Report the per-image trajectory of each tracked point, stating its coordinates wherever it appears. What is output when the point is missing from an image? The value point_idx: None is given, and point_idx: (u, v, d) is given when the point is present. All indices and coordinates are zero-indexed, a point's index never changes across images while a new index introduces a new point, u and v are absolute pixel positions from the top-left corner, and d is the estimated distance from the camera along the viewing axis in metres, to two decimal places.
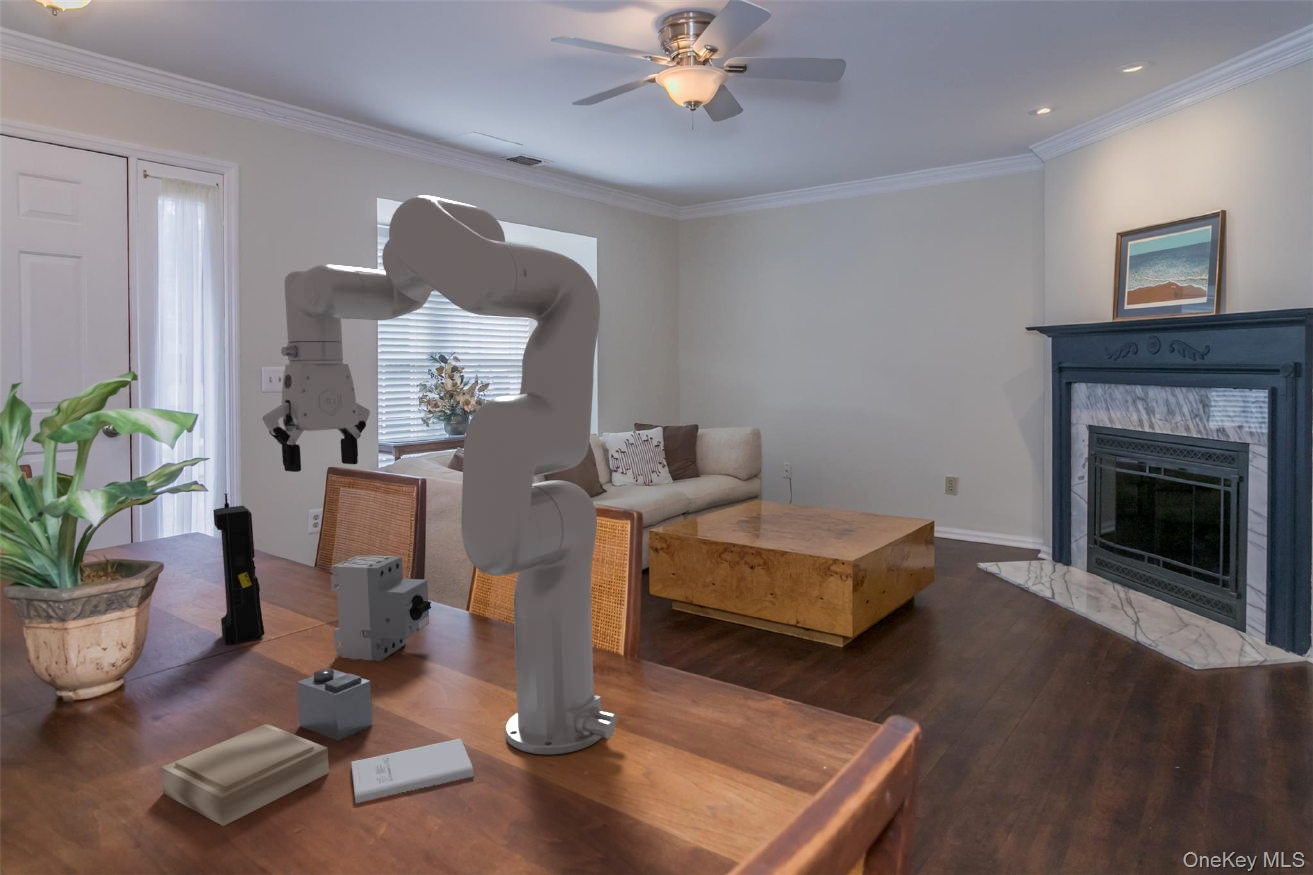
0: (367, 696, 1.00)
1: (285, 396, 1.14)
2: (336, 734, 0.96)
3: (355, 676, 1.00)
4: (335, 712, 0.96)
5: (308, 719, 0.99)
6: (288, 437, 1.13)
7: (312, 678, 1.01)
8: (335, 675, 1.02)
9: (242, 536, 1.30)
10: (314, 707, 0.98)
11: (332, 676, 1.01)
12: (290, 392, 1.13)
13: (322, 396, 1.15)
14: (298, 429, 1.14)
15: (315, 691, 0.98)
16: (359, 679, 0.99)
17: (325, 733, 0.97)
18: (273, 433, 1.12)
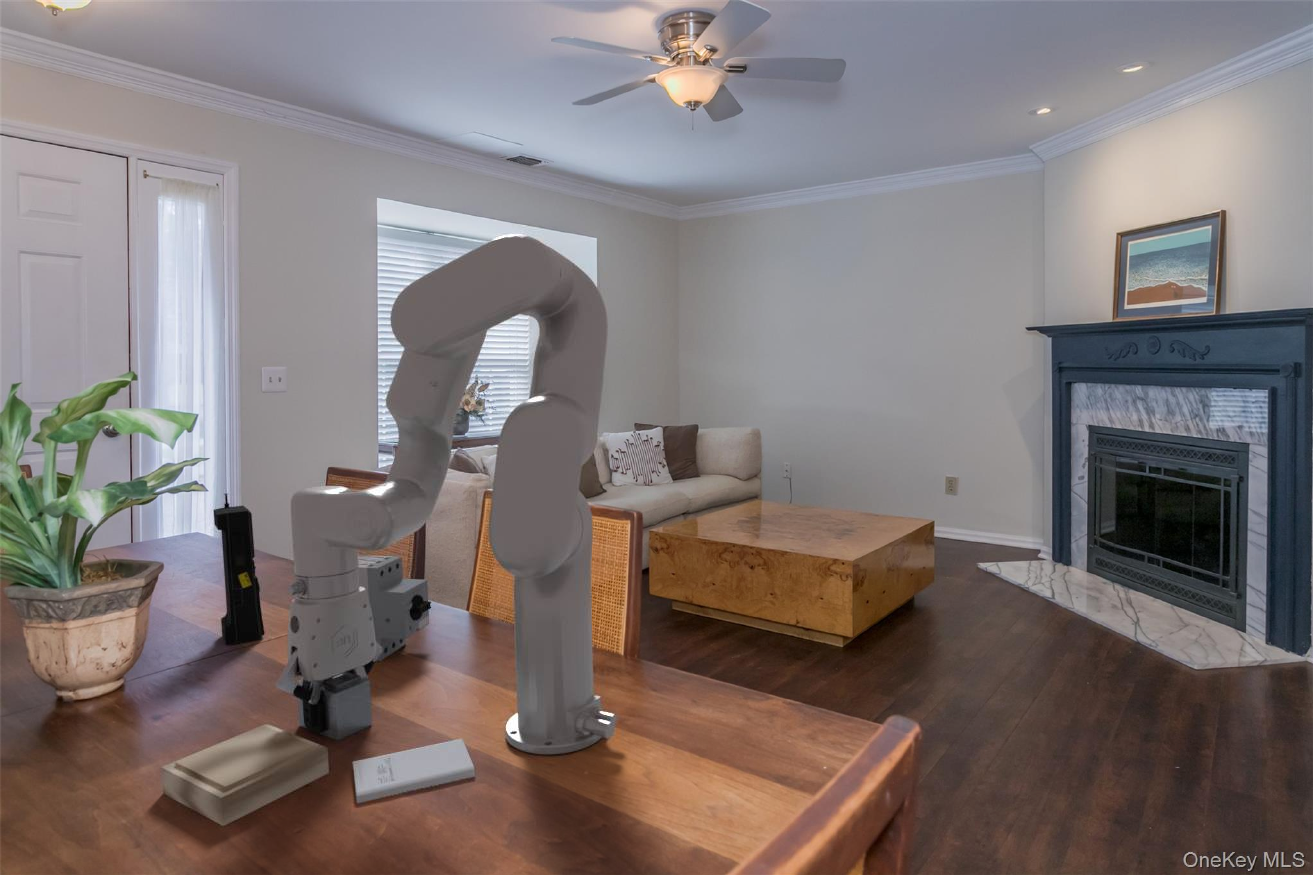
0: (367, 695, 1.00)
1: (292, 641, 0.95)
2: (335, 733, 0.96)
3: (355, 675, 1.00)
4: (335, 711, 0.96)
5: None
6: (309, 697, 0.96)
7: None
8: None
9: (242, 536, 1.31)
10: None
11: None
12: (297, 638, 0.95)
13: (335, 637, 0.97)
14: (316, 683, 0.96)
15: None
16: (359, 678, 0.99)
17: (325, 732, 0.97)
18: (294, 694, 0.95)
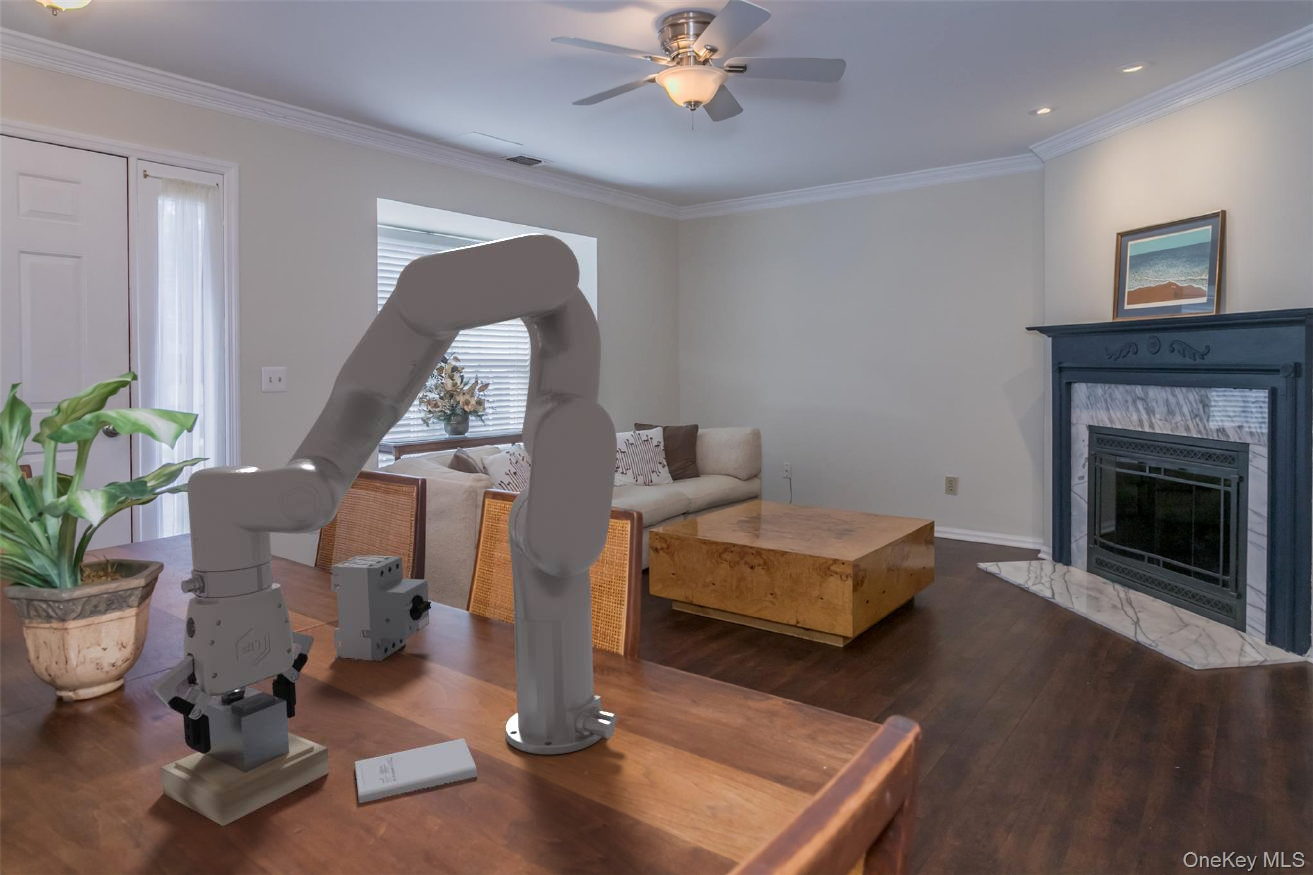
0: (282, 718, 0.85)
1: (188, 647, 0.81)
2: (242, 764, 0.82)
3: (268, 695, 0.86)
4: (241, 739, 0.82)
5: (213, 746, 0.85)
6: (191, 708, 0.80)
7: (220, 697, 0.87)
8: (247, 693, 0.88)
9: None
10: (219, 732, 0.84)
11: (243, 695, 0.87)
12: (194, 644, 0.80)
13: (241, 643, 0.83)
14: (206, 694, 0.81)
15: (220, 713, 0.84)
16: (273, 699, 0.85)
17: (231, 762, 0.83)
18: (169, 706, 0.79)
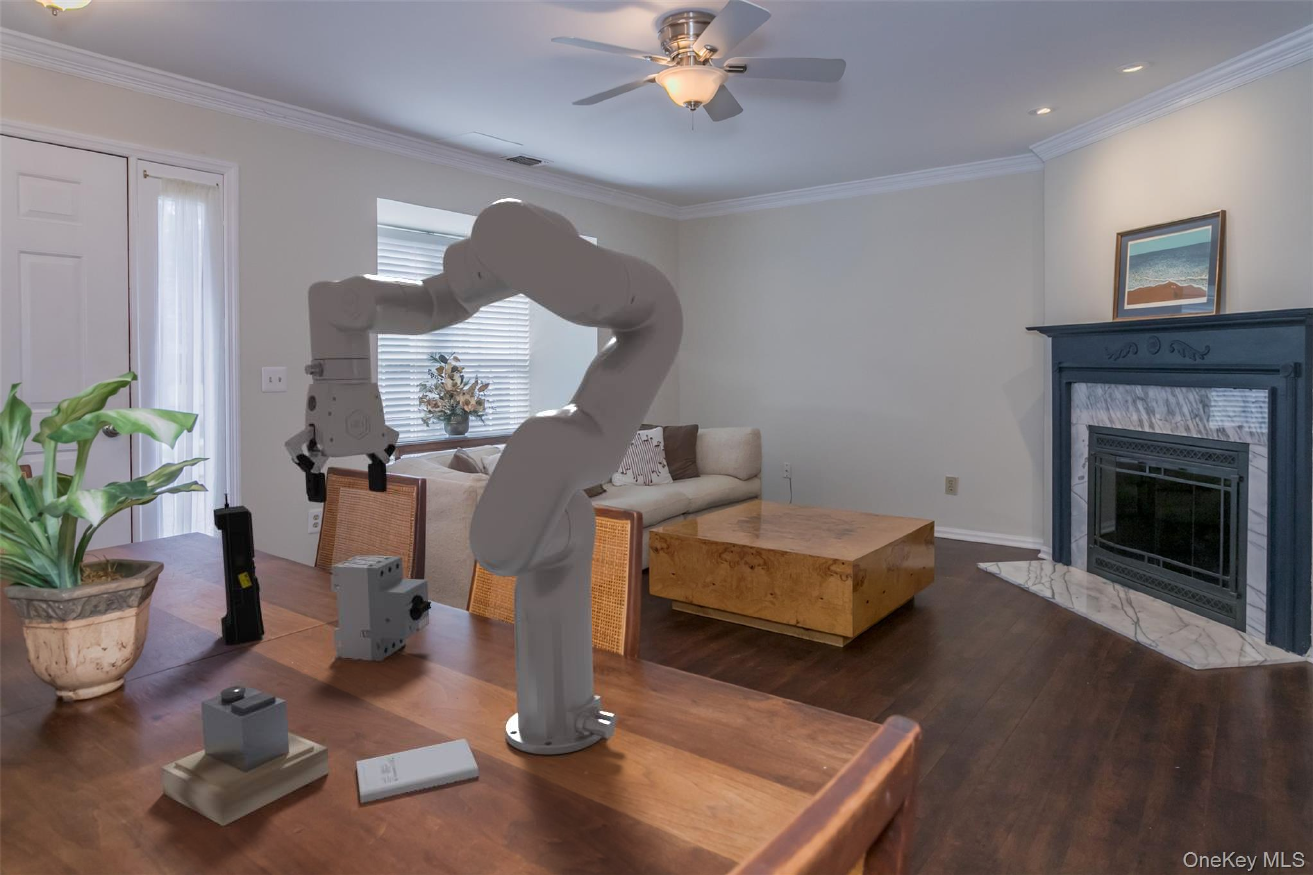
0: (282, 718, 0.85)
1: (309, 419, 1.03)
2: (242, 764, 0.82)
3: (268, 695, 0.86)
4: (241, 739, 0.82)
5: (213, 746, 0.85)
6: (313, 465, 1.02)
7: (220, 697, 0.87)
8: (247, 693, 0.88)
9: (242, 536, 1.31)
10: (219, 732, 0.84)
11: (243, 695, 0.87)
12: (315, 415, 1.02)
13: (349, 419, 1.04)
14: (323, 456, 1.03)
15: (220, 713, 0.84)
16: (273, 699, 0.85)
17: (231, 762, 0.83)
18: (296, 460, 1.01)
